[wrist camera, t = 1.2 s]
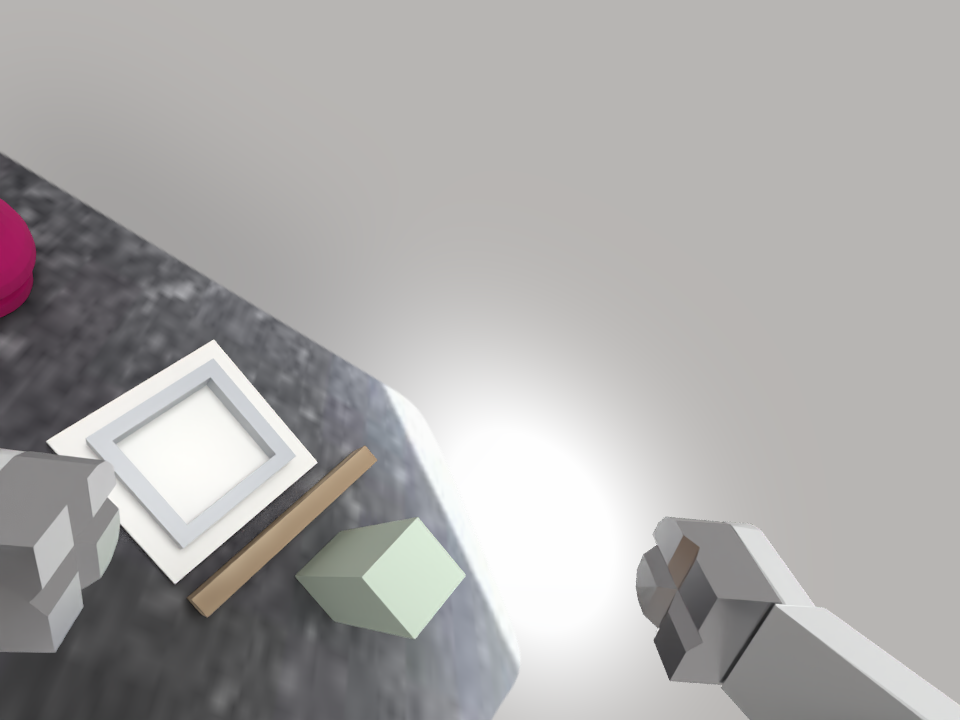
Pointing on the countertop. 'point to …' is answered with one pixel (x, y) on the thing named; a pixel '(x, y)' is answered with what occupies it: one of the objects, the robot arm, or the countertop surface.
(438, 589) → the sage bar
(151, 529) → the grey keeper socket
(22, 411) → the countertop surface
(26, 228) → the pepper mill
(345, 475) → the oak board
